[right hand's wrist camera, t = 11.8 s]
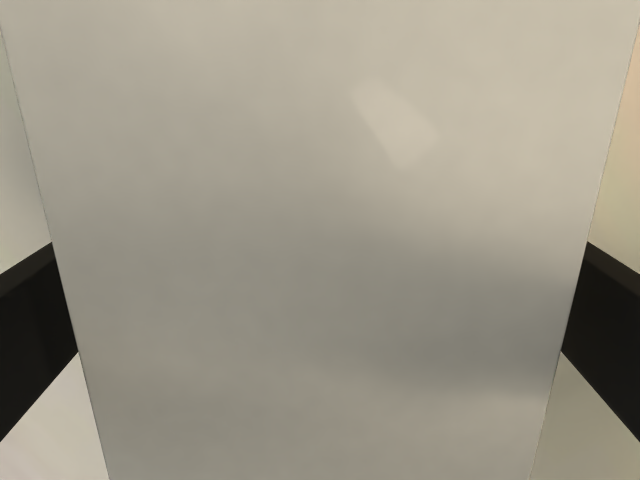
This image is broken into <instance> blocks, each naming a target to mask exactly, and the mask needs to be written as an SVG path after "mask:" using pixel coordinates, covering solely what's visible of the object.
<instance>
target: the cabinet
mask: <svg viewBox="0 0 640 480" xmlns="http://www.w3.org/2000/svg"><path fill="white" fill-rule="evenodd" d="M639 23H640V0H0V30H1V34H2V38H3V42H4V46H5V51H6V55H7V59H8V63H9V67H10V71H11V75H12V79H13V84H14V88H15V92H16V96H17V100H18V104H19V108H20V112H21V116H22V121H23V125H24V129H25V133H26V137H27V141H28V145H29V149H30V154H31V158H32V162H33V166H34V170H35V174H36V178H37V182H38V187H39V191H40V195H41V199H42V203H43V207H44V211H45V215H46V220H47V224H48V228H49V232H50V236H51V240H52V244H53V248H54V253H55V257H56V261H57V265H58V269H59V273H60V277H61V281H62V286H63V290H64V294H65V298H66V302H67V306H68V310H69V314H70V318H71V323H72V327H73V331H74V335H75V339H76V343H77V347H78V351H79V356H80V360H81V364H82V368H83V372H84V376H85V380H86V384H87V389H88V393H89V397H90V401H91V405H92V409H93V413H94V417H95V422H96V426H97V430H98V434H99V438H100V442H101V446H102V450H103V455H104V459H105V463H106V467H107V471H108V475H109V479H110V480H530V476H531V472H532V468H533V464H534V459H535V455H536V451H537V447H538V443H539V439H540V434H541V430H542V426H543V422H544V418H545V414H546V410H547V405H548V401H549V397H550V393H551V389H552V385H553V380H554V376H555V372H556V368H557V364H558V360H559V356H560V351H561V347H562V343H563V339H564V335H565V331H566V326H567V322H568V318H569V314H570V310H571V306H572V302H573V297H574V293H575V289H576V285H577V281H578V277H579V272H580V268H581V264H582V260H583V256H584V252H585V248H586V243H587V239H588V235H589V231H590V227H591V223H592V218H593V214H594V210H595V206H596V202H597V198H598V194H599V189H600V185H601V181H602V177H603V173H604V169H605V164H606V160H607V156H608V152H609V148H610V144H611V140H612V135H613V131H614V127H615V123H616V119H617V115H618V110H619V106H620V102H621V98H622V94H623V90H624V86H625V81H626V77H627V73H628V69H629V65H630V61H631V56H632V52H633V48H634V44H635V40H636V36H637V32H638V27H639Z"/></svg>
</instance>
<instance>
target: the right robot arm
mask: <svg viewBox="0 0 640 480" xmlns="http://www.w3.org/2000/svg"><path fill="white" fill-rule="evenodd" d="M78 352H79V351H78V347H77V343H76V339H75V335H74V331H73V327H72V323H71V318H70V314H69V310H68V306H67V302H66V298H65V294H64V290H63V286H62V281H61V277H60V273H59V269H58V265H57V261H56V257H55V253H54V248H53V244H52V242H51V243H49V244H48V245H46V246H44V247H43V248H41V249H40V250H38V251H37V252H35V253H33V254H32V255H30V256H29V257H27V258H25V259H24V260H22V261H21V262H19V263H18V264H16V265H14V266H13V267H11V268H10V269H8V270H6V271H5V272H3V273H2V274H0V442H1V441H2V439H3V438H4V437H5V436H6V435H7V434H8V433H9V431H10V430H11V429H12V428H13V427H14V426H15V424H16V423H17V422H18V421H19V420H20V419H21V417H22V416H23V415H24V414H25V413H26V412H27V411H28V409H29V408H30V407H31V406H32V405H33V404H34V402H35V401H36V400H37V399H38V398H39V397H40V396H41V394H42V393H43V392H44V391H45V390H46V389H47V387H48V386H49V385H50V384H51V383H52V382H53V380H54V379H55V378H56V377H57V376H58V375H59V374H60V372H61V371H62V370H63V369H64V368H65V367H66V365H67V364H68V363H69V362H70V361H71V360H72V358H73V357H74V356H75V355H76V354H77V353H78ZM561 352H562V353H563V354H564V355H565V356H566V357H567V358H568V360H569V361H570V362H571V363H572V364H573V365H574V367H575V368H576V369H577V370H578V371H579V372H580V374H581V375H582V376H583V377H584V378H585V379H586V380H587V382H588V383H589V384H590V385H591V386H592V387H593V389H594V390H595V391H596V392H597V393H598V394H599V396H600V397H601V398H602V399H603V400H604V401H605V402H606V404H607V405H608V406H609V407H610V408H611V409H612V411H613V412H614V413H615V414H616V415H617V416H618V418H619V419H620V420H621V421H622V422H623V423H624V424H625V426H626V427H627V428H628V429H629V430H630V431H631V433H632V434H633V435H634V436H635V437H636V438H637V439H638V441H639V442H640V274H638V273H637V272H635V271H634V270H632V269H630V268H629V267H627V266H626V265H624V264H622V263H621V262H619V261H618V260H616V259H615V258H613V257H611V256H610V255H608V254H607V253H605V252H603V251H602V250H600V249H599V248H597V247H596V246H594V245H592V244H591V243H589V242H588V241H587V243H586V248H585V252H584V256H583V260H582V264H581V268H580V272H579V277H578V281H577V285H576V289H575V293H574V297H573V302H572V306H571V310H570V314H569V318H568V322H567V326H566V331H565V335H564V339H563V343H562V347H561Z"/></svg>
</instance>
